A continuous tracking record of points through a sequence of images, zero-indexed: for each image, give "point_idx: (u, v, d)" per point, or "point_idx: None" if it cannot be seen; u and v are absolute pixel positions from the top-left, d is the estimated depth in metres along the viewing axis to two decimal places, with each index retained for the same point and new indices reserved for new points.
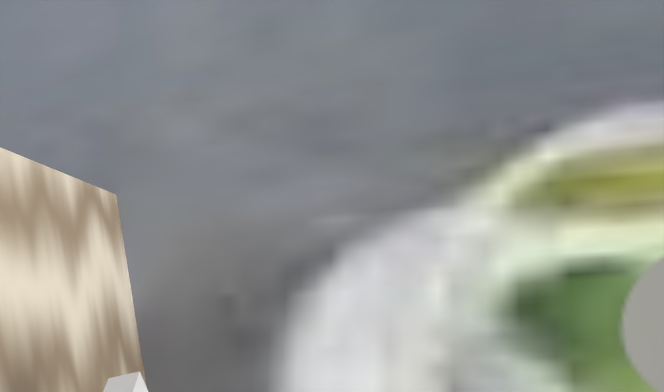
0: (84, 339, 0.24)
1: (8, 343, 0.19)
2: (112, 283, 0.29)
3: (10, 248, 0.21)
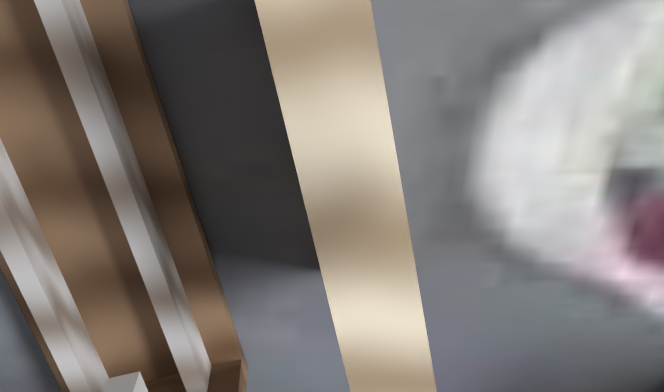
0: None
1: None
2: None
3: None
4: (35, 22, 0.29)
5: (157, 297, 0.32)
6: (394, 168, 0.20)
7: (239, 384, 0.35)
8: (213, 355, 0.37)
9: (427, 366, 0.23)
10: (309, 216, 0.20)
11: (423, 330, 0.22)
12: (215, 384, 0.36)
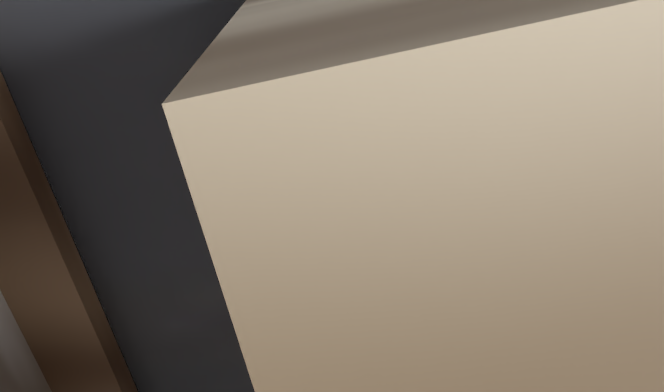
0: None
1: None
2: None
3: None
4: None
5: None
6: None
7: None
8: None
9: None
10: None
11: None
12: None
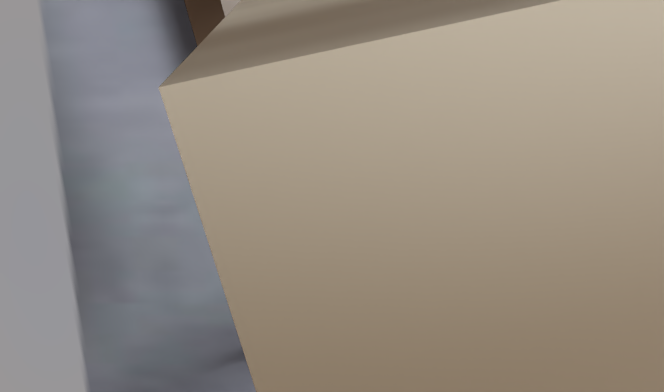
0: None
1: None
2: None
3: None
4: None
5: None
6: None
7: None
8: None
9: None
10: None
11: None
12: None
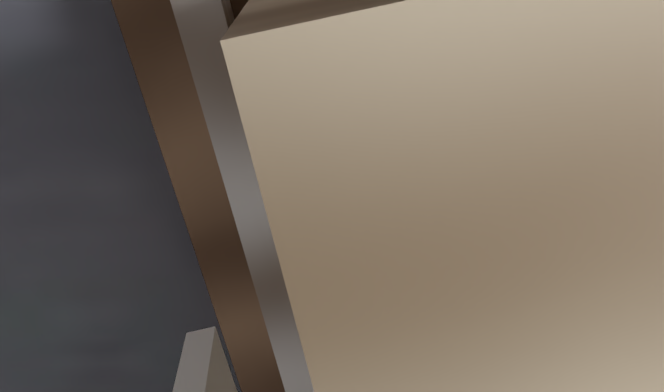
0: None
1: None
2: None
3: None
4: None
5: None
6: None
7: None
8: None
9: None
10: None
11: None
12: None
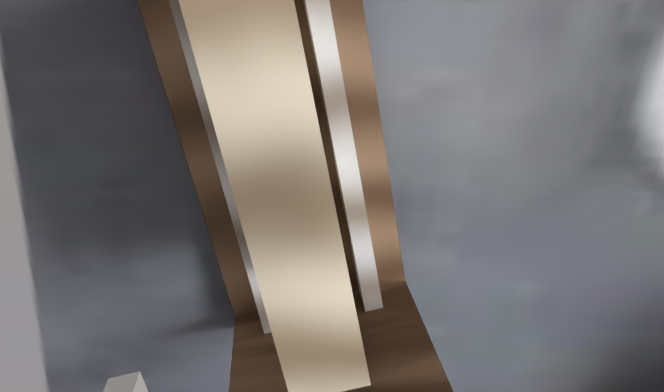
0: None
1: None
2: None
3: None
4: None
5: (353, 210, 0.34)
6: (317, 136, 0.19)
7: None
8: (379, 276, 0.38)
9: (356, 337, 0.23)
10: (232, 184, 0.20)
11: (351, 301, 0.22)
12: (388, 301, 0.37)
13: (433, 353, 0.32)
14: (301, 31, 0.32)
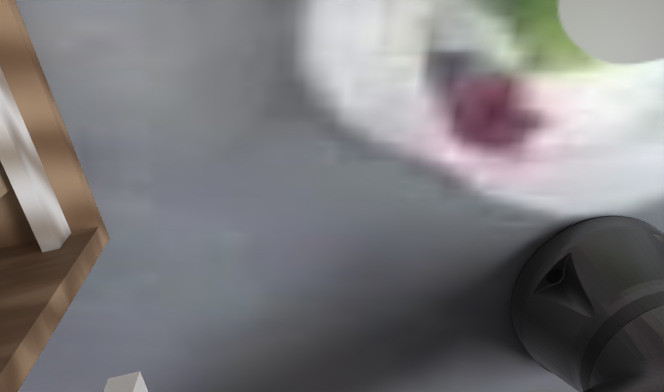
0: None
1: None
2: None
3: None
4: None
5: (4, 153, 0.36)
6: None
7: (89, 242, 0.39)
8: (72, 222, 0.41)
9: None
10: None
11: None
12: (68, 243, 0.39)
13: (59, 282, 0.34)
14: None
